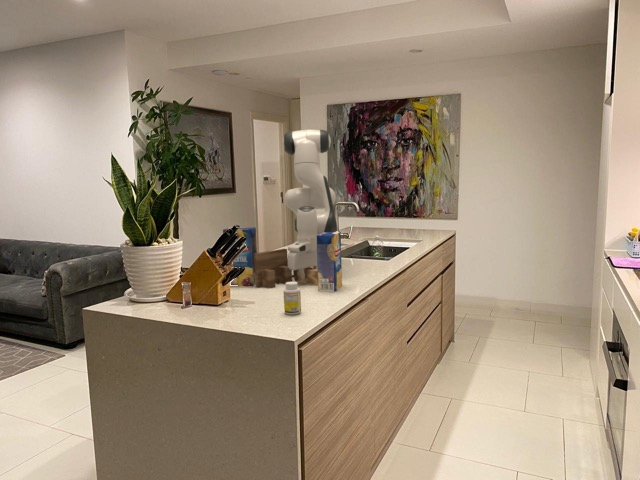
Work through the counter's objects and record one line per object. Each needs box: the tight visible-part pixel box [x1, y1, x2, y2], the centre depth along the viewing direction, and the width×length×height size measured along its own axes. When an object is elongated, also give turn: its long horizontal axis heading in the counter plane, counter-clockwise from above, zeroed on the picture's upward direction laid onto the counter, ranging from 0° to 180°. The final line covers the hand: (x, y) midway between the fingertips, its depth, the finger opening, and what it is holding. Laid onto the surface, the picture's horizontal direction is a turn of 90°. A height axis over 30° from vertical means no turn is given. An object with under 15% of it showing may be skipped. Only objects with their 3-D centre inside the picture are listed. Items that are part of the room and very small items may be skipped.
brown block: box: [254, 248, 293, 289], centre depth 206 cm, size 7×16×14 cm, turn 133°
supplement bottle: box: [283, 281, 302, 316], centre depth 163 cm, size 6×6×10 cm
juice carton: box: [222, 226, 258, 288], centre depth 208 cm, size 12×8×24 cm, turn 80°
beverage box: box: [317, 231, 343, 293], centre depth 196 cm, size 7×11×22 cm, turn 164°
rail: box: [294, 267, 318, 286], centre depth 209 cm, size 16×4×6 cm, turn 43°
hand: (309, 277), depth 209 cm, fingers open, 4 cm apart
